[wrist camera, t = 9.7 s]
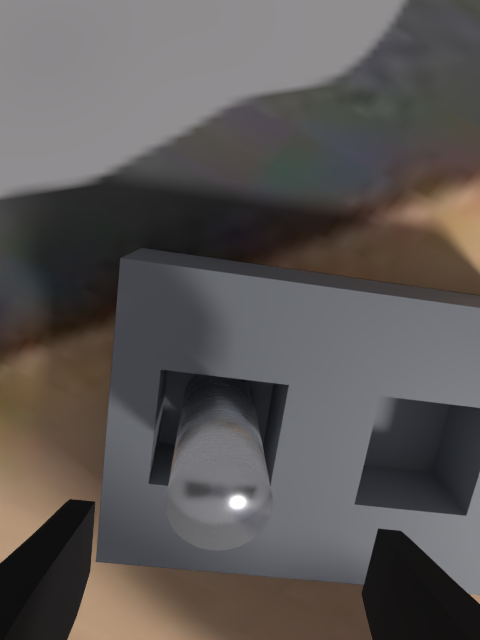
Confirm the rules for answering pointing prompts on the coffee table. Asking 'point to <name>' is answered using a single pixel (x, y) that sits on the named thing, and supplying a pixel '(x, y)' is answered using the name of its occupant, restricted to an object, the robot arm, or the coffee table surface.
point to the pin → (218, 466)
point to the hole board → (299, 414)
